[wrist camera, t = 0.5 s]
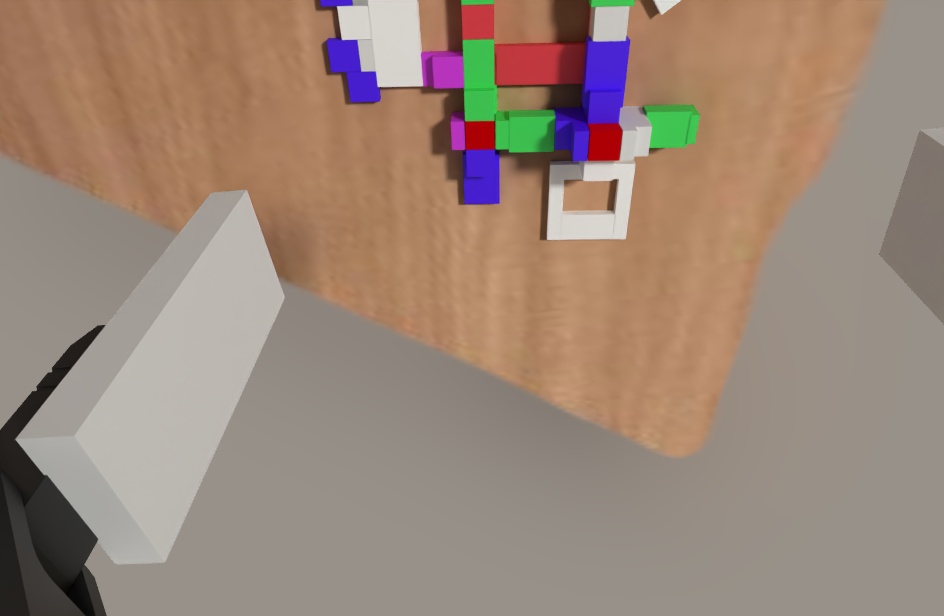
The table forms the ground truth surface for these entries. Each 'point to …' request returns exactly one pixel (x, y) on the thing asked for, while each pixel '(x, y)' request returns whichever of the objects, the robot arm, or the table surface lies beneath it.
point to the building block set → (570, 128)
